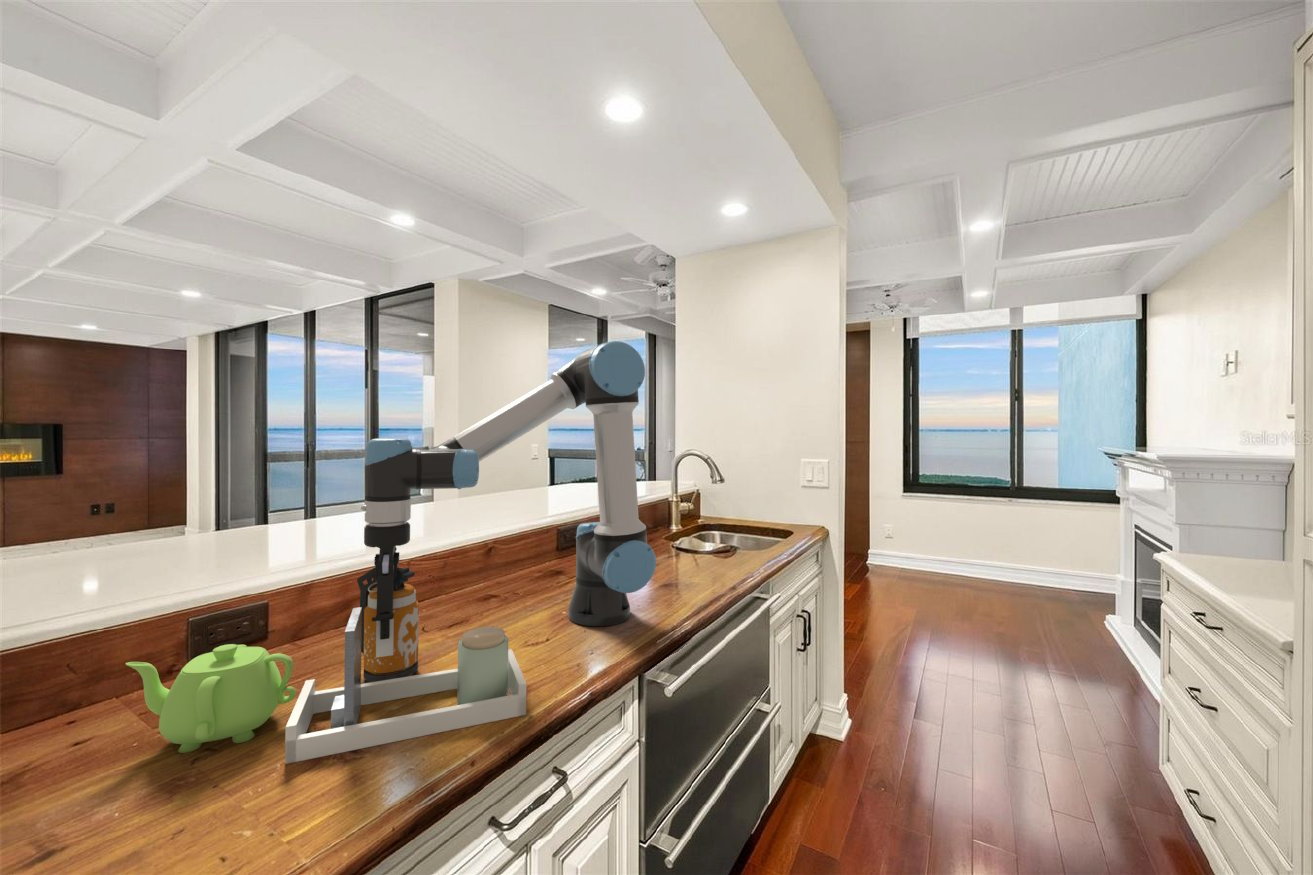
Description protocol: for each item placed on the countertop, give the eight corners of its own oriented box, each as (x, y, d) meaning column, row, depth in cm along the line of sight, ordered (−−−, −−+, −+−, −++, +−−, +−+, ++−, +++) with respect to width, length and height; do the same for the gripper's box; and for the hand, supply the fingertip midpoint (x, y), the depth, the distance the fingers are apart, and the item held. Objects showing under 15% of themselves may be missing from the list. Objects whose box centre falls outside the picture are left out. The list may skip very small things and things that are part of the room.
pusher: (360, 705, 86) (361, 607, 86) (353, 741, 76) (354, 630, 76) (337, 709, 84) (338, 609, 84) (327, 746, 75) (328, 633, 74)
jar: (503, 685, 94) (504, 623, 94) (511, 707, 86) (512, 639, 86) (455, 694, 90) (456, 629, 90) (459, 717, 83) (460, 647, 83)
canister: (396, 689, 92) (397, 574, 92) (341, 682, 94) (342, 570, 94) (428, 667, 100) (429, 562, 100) (377, 661, 103) (378, 558, 103)
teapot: (171, 781, 67) (171, 683, 67) (124, 748, 74) (124, 659, 74) (304, 720, 82) (305, 639, 81) (255, 697, 88) (255, 622, 88)
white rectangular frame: (511, 676, 97) (511, 649, 97) (526, 714, 84) (526, 683, 84) (305, 711, 84) (305, 680, 84) (285, 764, 71) (285, 727, 71)
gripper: (369, 515, 105) (367, 628, 105) (358, 534, 86) (356, 673, 86) (410, 513, 108) (409, 623, 108) (409, 531, 89) (407, 666, 89)
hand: (386, 645), depth 97 cm, fingers open, 8 cm apart
